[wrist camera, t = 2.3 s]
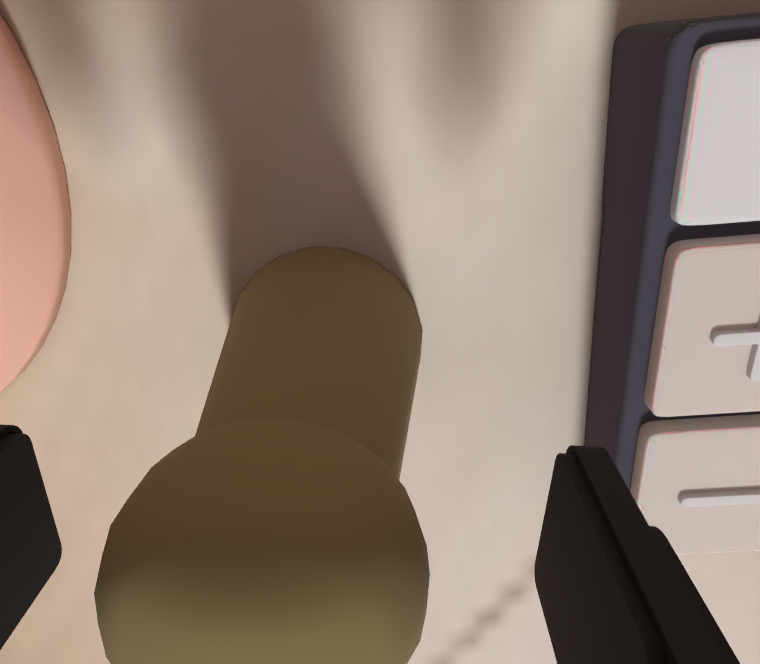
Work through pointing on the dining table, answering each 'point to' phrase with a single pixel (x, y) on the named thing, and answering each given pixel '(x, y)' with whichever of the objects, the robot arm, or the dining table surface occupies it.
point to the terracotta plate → (28, 215)
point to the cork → (283, 488)
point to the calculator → (682, 281)
